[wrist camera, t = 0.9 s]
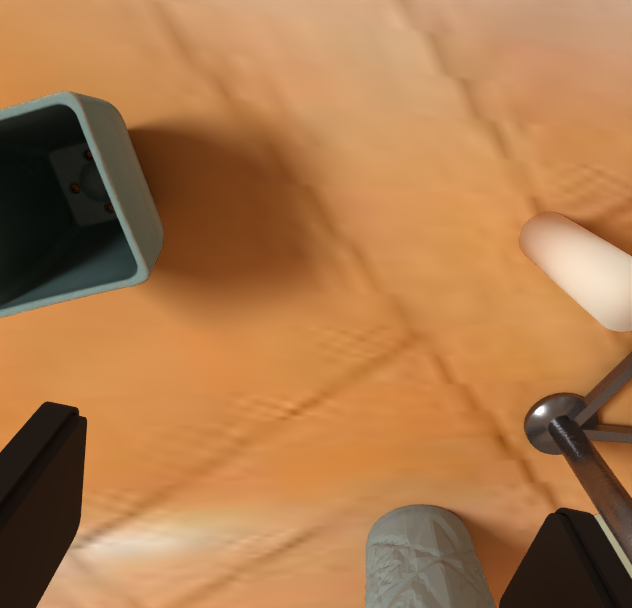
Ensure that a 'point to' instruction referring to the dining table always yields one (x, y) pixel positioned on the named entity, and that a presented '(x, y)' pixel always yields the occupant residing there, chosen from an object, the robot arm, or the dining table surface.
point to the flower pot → (71, 204)
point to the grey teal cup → (423, 562)
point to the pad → (615, 544)
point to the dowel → (582, 267)
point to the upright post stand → (588, 446)
